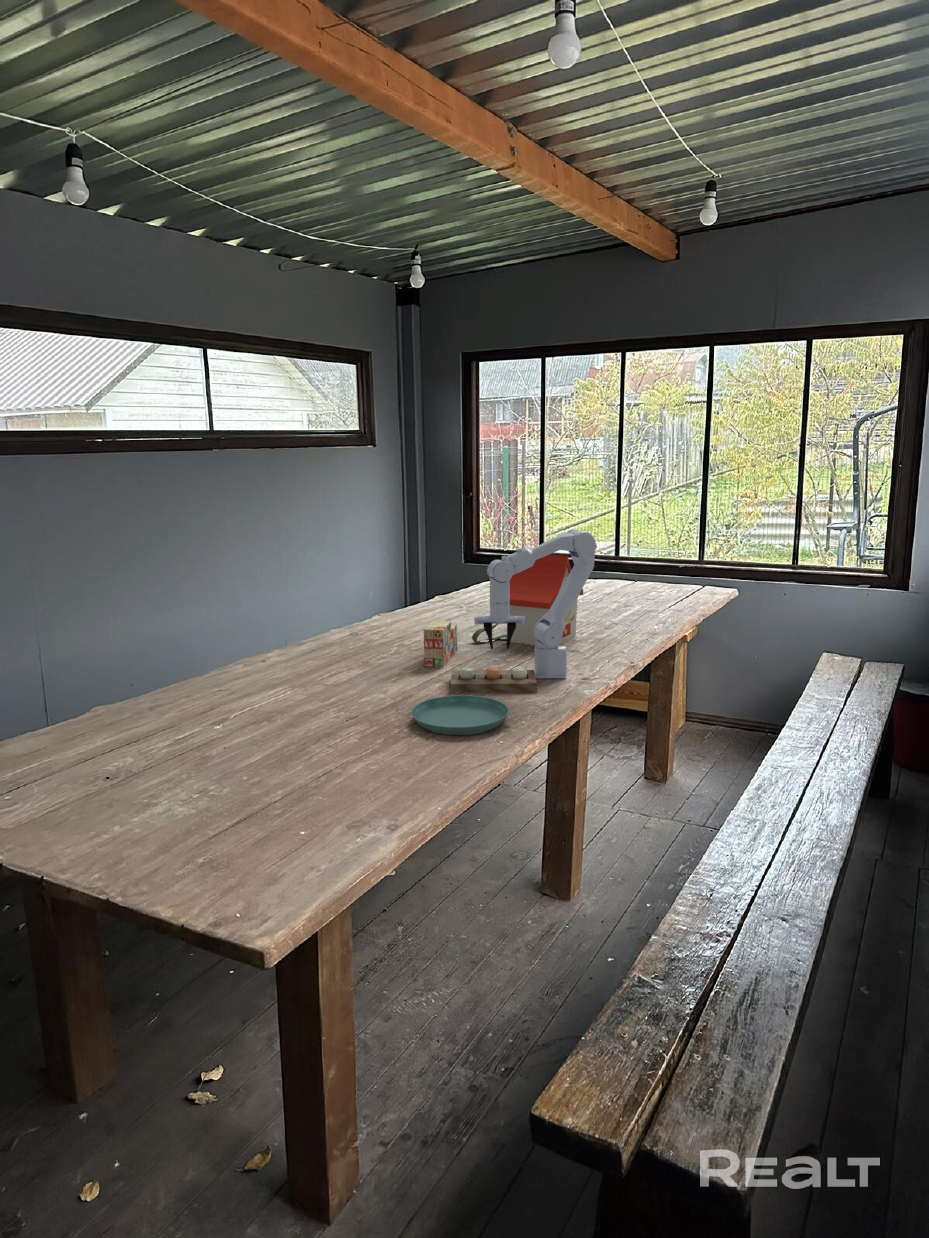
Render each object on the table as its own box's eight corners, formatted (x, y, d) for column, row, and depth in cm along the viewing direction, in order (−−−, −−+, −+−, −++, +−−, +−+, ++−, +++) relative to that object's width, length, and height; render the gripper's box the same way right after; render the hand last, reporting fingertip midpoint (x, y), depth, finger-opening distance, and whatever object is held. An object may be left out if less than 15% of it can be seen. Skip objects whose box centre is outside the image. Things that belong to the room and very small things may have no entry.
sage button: (474, 677, 242) (473, 667, 241) (474, 681, 238) (474, 671, 237) (460, 677, 242) (460, 667, 241) (459, 681, 238) (459, 671, 237)
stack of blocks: (439, 650, 281) (438, 614, 278) (457, 651, 280) (457, 615, 277) (424, 667, 260) (423, 628, 258) (443, 668, 259) (443, 629, 257)
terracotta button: (500, 677, 242) (500, 667, 241) (500, 681, 238) (500, 671, 237) (486, 677, 242) (486, 667, 241) (486, 681, 238) (486, 671, 237)
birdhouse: (548, 654, 274) (549, 563, 268) (469, 644, 289) (469, 557, 283) (590, 632, 304) (592, 550, 298) (517, 624, 319) (517, 545, 313)
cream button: (526, 677, 242) (526, 667, 241) (527, 681, 238) (527, 671, 237) (512, 677, 242) (512, 667, 241) (513, 681, 238) (513, 671, 237)
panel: (533, 678, 247) (533, 669, 246) (537, 692, 233) (537, 682, 233) (452, 678, 247) (451, 669, 247) (450, 692, 234) (450, 683, 233)
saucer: (399, 714, 217) (398, 702, 216) (485, 702, 225) (485, 690, 225) (430, 745, 195) (430, 731, 194) (524, 731, 203) (525, 717, 203)
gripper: (474, 605, 237) (474, 651, 240) (525, 604, 237) (525, 651, 240) (474, 600, 244) (474, 645, 247) (524, 599, 244) (524, 645, 247)
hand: (499, 648), depth 244 cm, fingers open, 4 cm apart
